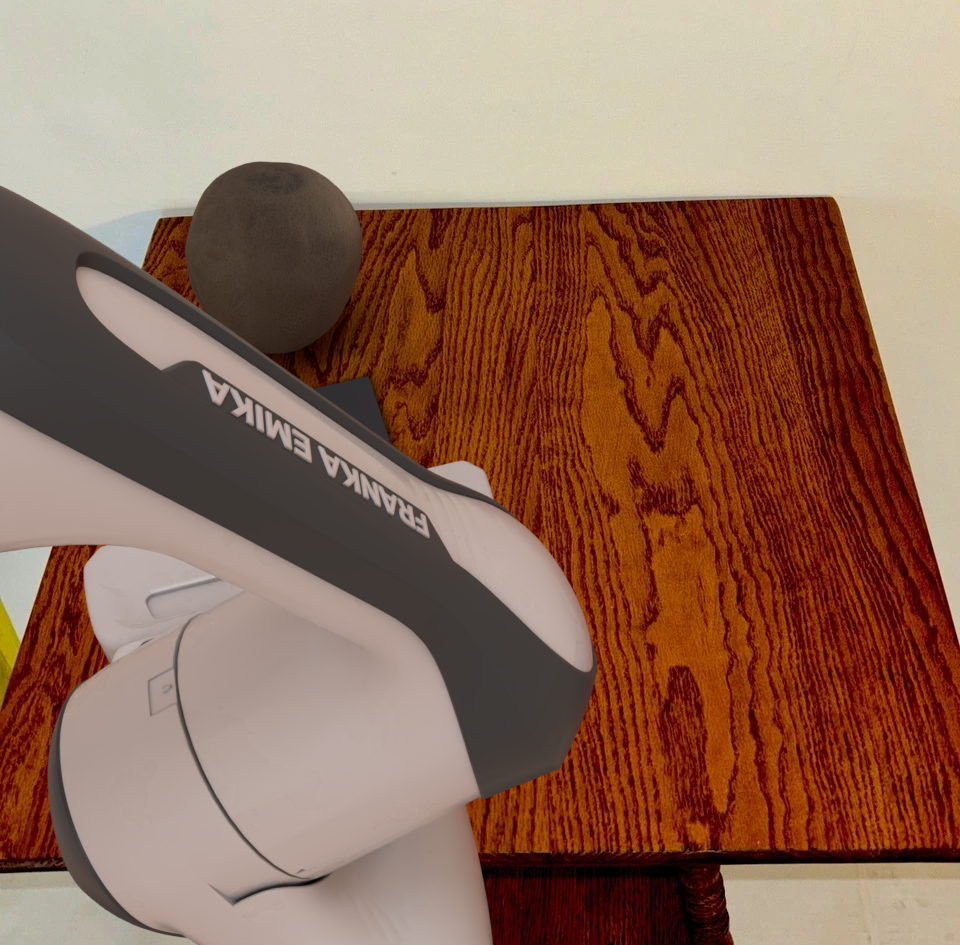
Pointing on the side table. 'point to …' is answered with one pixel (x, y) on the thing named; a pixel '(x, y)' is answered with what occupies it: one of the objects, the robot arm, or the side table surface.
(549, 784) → the side table surface
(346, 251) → the coconut
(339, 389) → the mat
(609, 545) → the side table surface
